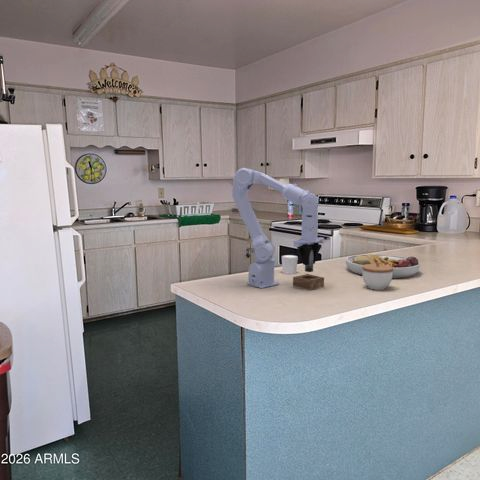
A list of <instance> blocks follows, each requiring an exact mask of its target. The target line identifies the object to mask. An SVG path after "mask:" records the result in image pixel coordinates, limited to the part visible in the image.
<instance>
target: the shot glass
mask: <svg viewBox="0 0 480 480" xmlns="http://www.w3.org/2000/svg"><path fill="white" fill-rule="evenodd" d="M298 260H299V258H298V256H297V255H294V254H285V255H281V265H282V273H283V274H284V275H285V274H287V275H294V274H296V273H297V268H298V267H297V266H298Z"/></svg>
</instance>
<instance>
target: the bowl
mask: <svg viewBox="0 0 480 480" xmlns="http://www.w3.org/2000/svg"><path fill="white" fill-rule="evenodd" d="M376 262H379V264H382V265H388V266H391V267H393V276H392V279H403V278H404V279H405V278H408V277H412V276H414V275H416V274H417V273H418V272H419V270H420V268H421V262H420V261H419V259H418V258H416V257H414V256H408V257H406V256H397V255H390V254H389V255H388V254H387V255H386V254H373V253H368V254H356V255H350V256H347V257H346V259H345V265H346V267H347V268H348V269H349V270H350V271H351V272H352V273H354V274H357V275H361V276H363V275H362V270H363V269H362V266H363V265H366V264H376Z"/></svg>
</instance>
